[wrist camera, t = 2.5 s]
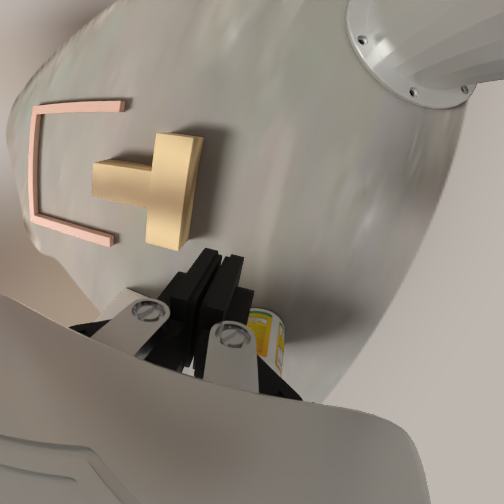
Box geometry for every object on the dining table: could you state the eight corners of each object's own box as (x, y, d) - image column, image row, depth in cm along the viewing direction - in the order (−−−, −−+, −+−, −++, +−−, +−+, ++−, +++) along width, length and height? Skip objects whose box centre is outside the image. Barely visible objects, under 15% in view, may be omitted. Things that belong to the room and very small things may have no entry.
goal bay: (37, 106, 20) (32, 106, 19) (125, 101, 20) (120, 101, 19) (34, 219, 26) (30, 221, 25) (114, 244, 25) (109, 247, 25)
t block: (113, 127, 21) (96, 128, 18) (204, 137, 20) (193, 138, 18) (106, 219, 24) (91, 227, 22) (188, 239, 24) (178, 251, 22)
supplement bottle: (296, 328, 26) (293, 408, 18) (259, 354, 28) (245, 428, 20) (256, 295, 25) (237, 373, 17) (220, 325, 27) (193, 398, 19)
